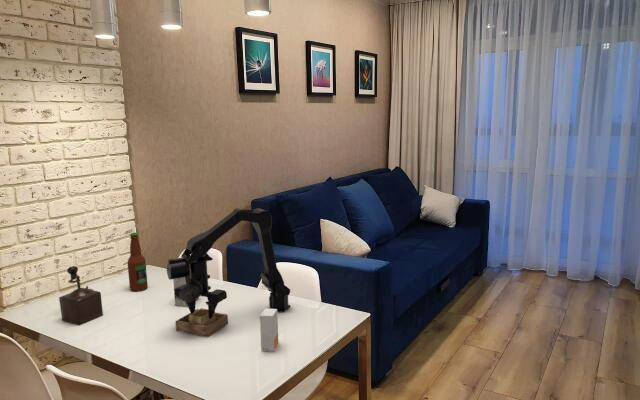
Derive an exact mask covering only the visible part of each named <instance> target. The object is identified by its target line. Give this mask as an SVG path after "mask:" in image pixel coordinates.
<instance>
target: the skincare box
mask: <svg viewBox="0 0 640 400" xmlns="http://www.w3.org/2000/svg"><path fill="white" fill-rule="evenodd" d="M268 308H269V307H268ZM268 308H267V307H266V308H265V309H264V310H263V311H262V312H261V314H260V315H259V323H260V327H259V328H260V351H261V352H270V353H271V352H272V353H274V352H275V350H276V348H277V347H278V345H279V320H278V319H279V318H278V315H279V314H278V311H277V309H268Z"/></svg>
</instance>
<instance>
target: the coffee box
mask: <svg viewBox="0 0 640 400" xmlns="http://www.w3.org/2000/svg"><path fill="white" fill-rule="evenodd" d="M189 267H190V264H189ZM188 278H191V274H190V273H189V275H187V277H182V278H177V279H172V280H173V296H174V306H178V307H179V306H180V307H188V306H187V304H186V302H185V301H182V300H181V299H180V298H179V297H176V296H175V292H174V291H175V289H176V288H177V287H179V286H181V285H184V284H188ZM199 299H200V297H199V298H198V299H197V298H196V301H197V300H199Z"/></svg>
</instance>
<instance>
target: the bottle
mask: <svg viewBox="0 0 640 400" xmlns="http://www.w3.org/2000/svg"><path fill="white" fill-rule="evenodd" d="M129 236H130V237H129V238H130V245H129V246H130V247H129V252H130V253H129V254H130V255H129V258H128V260H127V271H128V282H129V283H128V284H129V290H130V291H132V292H137V293H138V292H143V291H145V290H147V288H148V286H149V285H148V276H147V274H148V273H147V264H146V263H147V262H146V259H145V257H144V255H143V254H142V248H141V245H140V244H141V243H140V240H139V233H138V232H131V233H130V234H129Z"/></svg>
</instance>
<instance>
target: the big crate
mask: <svg viewBox="0 0 640 400" xmlns="http://www.w3.org/2000/svg"><path fill="white" fill-rule="evenodd" d="M199 309H200V308H195V311H197V310H199ZM190 314H191V312H189V313H188V314H186V315H184V316H182V317H180V318H179V319H177V320H175V330H176V332H179V333H181V332H182V333H186V334H190V335H195V336H200V337H205V338H209V337H210V336H212V335H214V334H215V333H217V332H218V331H220V330H221V329H223V328H225V327H226V326H227V325H228V324H229V315H228V314H227V313H223V312H216V311H215V321H214V322H213V323H211V324H210V325H208V326H203V325H198V324H193V323H189V318H188V315H190Z"/></svg>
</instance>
